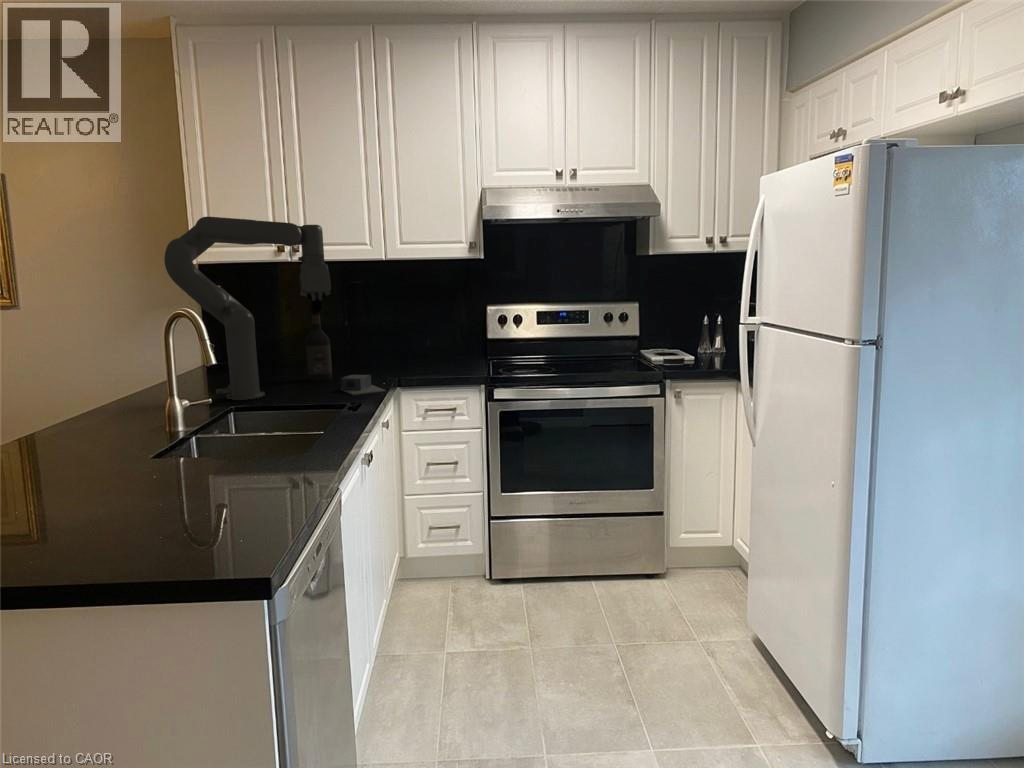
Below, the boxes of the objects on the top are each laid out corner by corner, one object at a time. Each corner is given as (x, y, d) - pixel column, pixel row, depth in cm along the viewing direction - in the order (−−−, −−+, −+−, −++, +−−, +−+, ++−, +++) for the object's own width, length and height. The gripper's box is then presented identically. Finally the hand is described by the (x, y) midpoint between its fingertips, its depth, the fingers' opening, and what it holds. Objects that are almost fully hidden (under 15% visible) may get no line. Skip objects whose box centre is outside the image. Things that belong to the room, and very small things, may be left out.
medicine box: (360, 390, 252) (371, 386, 260) (360, 378, 251) (371, 374, 259) (341, 389, 254) (352, 385, 262) (340, 377, 253) (352, 374, 261)
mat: (353, 395, 245) (352, 394, 245) (340, 389, 256) (340, 388, 256) (386, 391, 251) (386, 390, 251) (372, 386, 263) (372, 385, 263)
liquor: (333, 380, 279) (328, 305, 274) (309, 382, 275) (304, 306, 270) (330, 377, 287) (325, 304, 282) (307, 379, 284) (302, 305, 279)
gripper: (294, 260, 240) (298, 313, 243) (337, 259, 248) (340, 311, 251) (289, 260, 246) (293, 312, 249) (330, 260, 254) (334, 310, 257)
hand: (316, 311), depth 250 cm, fingers closed
